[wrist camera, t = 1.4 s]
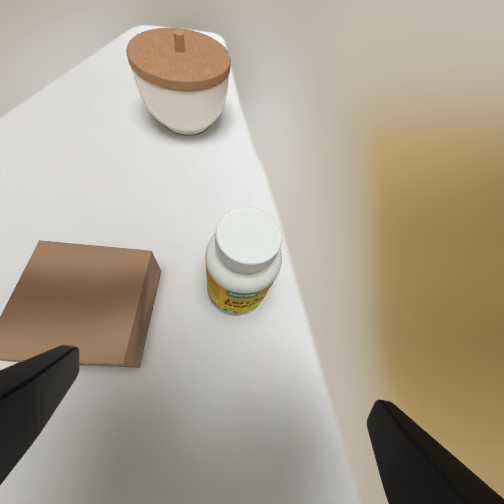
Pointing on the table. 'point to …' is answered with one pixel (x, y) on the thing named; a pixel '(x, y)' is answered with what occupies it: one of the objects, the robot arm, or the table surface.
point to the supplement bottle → (242, 260)
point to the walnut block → (81, 304)
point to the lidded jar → (180, 77)
